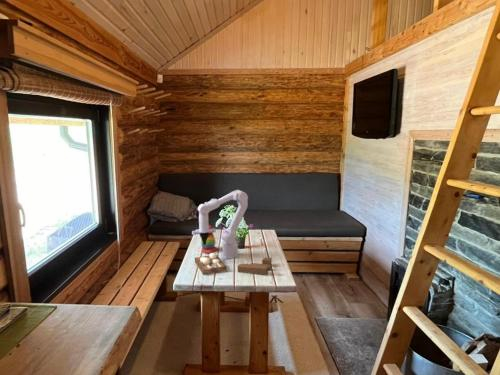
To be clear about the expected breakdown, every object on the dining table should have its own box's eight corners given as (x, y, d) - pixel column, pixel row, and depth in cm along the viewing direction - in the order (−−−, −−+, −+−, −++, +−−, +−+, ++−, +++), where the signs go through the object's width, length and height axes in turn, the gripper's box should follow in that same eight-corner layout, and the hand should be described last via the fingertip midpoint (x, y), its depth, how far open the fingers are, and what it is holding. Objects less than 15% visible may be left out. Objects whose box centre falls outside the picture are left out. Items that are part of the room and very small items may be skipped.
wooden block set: (267, 267, 182) (237, 263, 186) (267, 276, 182) (237, 273, 187) (273, 256, 198) (245, 253, 202) (273, 264, 199) (245, 262, 203)
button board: (216, 258, 207) (216, 253, 206) (226, 270, 189) (226, 265, 188) (194, 262, 201) (194, 256, 201) (203, 275, 183) (203, 269, 182)
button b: (208, 262, 194) (208, 257, 193) (210, 265, 190) (210, 259, 190) (202, 263, 192) (202, 258, 192) (203, 266, 189) (203, 260, 188)
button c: (215, 257, 202) (215, 252, 201) (217, 259, 198) (217, 254, 198) (209, 258, 200) (208, 253, 200) (210, 260, 197) (210, 255, 196)
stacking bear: (209, 254, 214) (208, 228, 211) (197, 251, 219) (197, 226, 216) (219, 249, 223) (219, 224, 220) (207, 247, 228) (207, 222, 225)
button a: (206, 262, 200) (205, 256, 199) (207, 264, 196) (207, 258, 196) (199, 263, 198) (199, 257, 198) (201, 265, 195) (201, 259, 194)
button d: (218, 264, 197) (218, 258, 196) (220, 266, 193) (220, 261, 192) (211, 265, 195) (211, 259, 195) (213, 267, 192) (213, 262, 191)
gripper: (213, 220, 207) (213, 241, 209) (190, 223, 201) (191, 243, 204) (216, 223, 201) (216, 244, 203) (193, 226, 195) (194, 247, 197)
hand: (204, 244), depth 203 cm, fingers closed
